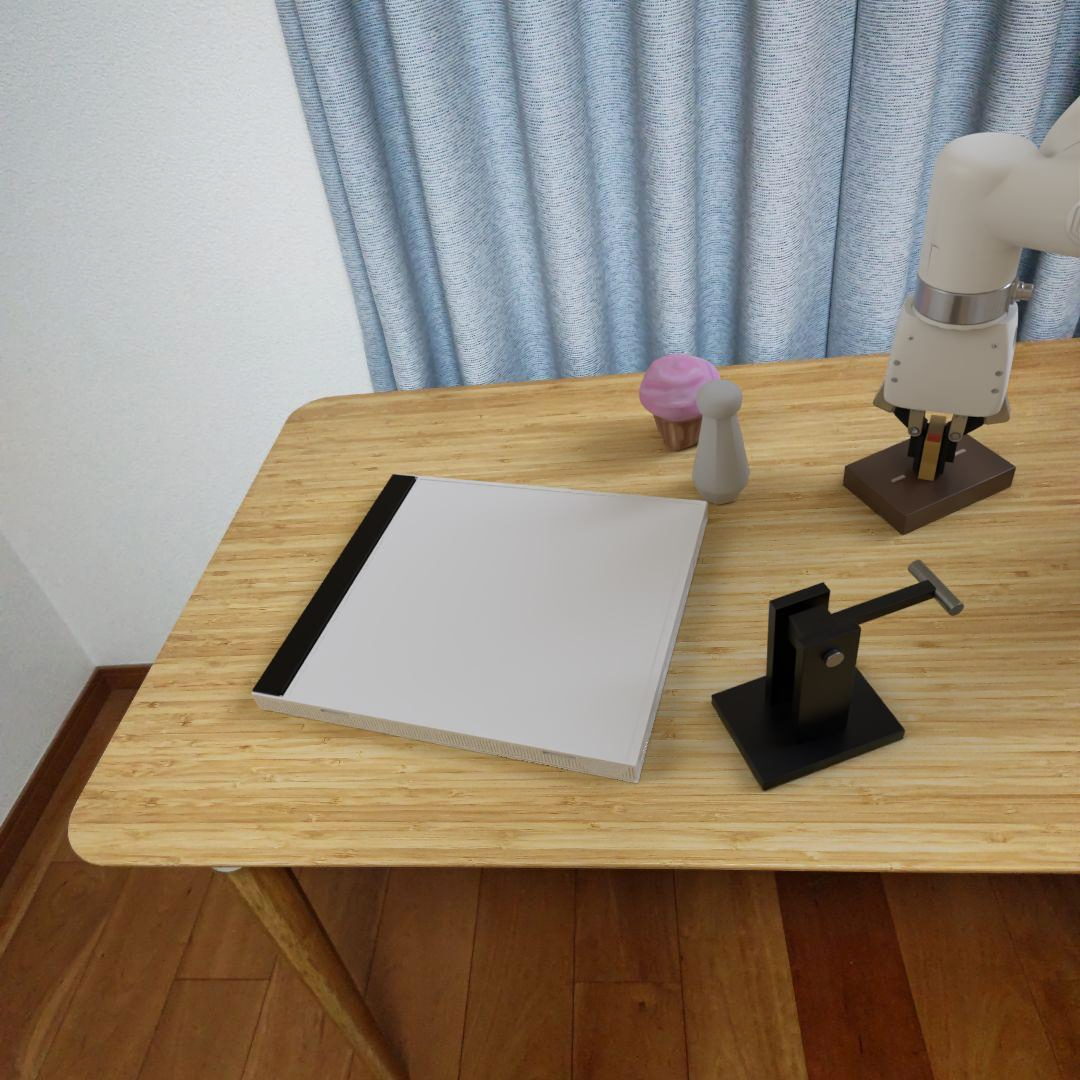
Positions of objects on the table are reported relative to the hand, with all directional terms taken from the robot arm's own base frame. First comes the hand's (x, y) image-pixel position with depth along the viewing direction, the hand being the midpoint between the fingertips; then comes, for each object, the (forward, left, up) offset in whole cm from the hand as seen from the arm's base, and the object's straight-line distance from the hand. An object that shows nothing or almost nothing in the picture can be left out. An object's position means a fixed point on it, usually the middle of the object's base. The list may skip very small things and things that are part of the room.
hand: (929, 462), depth 88 cm
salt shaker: (+20, -2, -3) cm, 20 cm away
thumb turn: (0, 0, 0) cm, 0 cm away
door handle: (+13, +26, +7) cm, 29 cm away
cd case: (+43, +12, -3) cm, 45 cm away
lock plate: (0, 0, -3) cm, 3 cm away
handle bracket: (+17, +27, -3) cm, 32 cm away
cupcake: (+23, -12, -3) cm, 26 cm away
